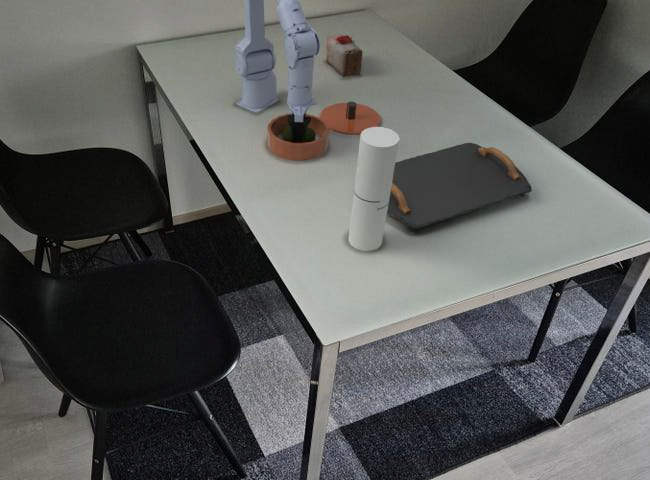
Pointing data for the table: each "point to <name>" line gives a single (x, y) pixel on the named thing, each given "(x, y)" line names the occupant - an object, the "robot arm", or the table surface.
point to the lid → (350, 118)
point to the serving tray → (452, 184)
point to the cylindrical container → (372, 187)
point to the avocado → (308, 137)
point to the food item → (344, 55)
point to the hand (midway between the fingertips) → (298, 133)
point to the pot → (297, 149)
